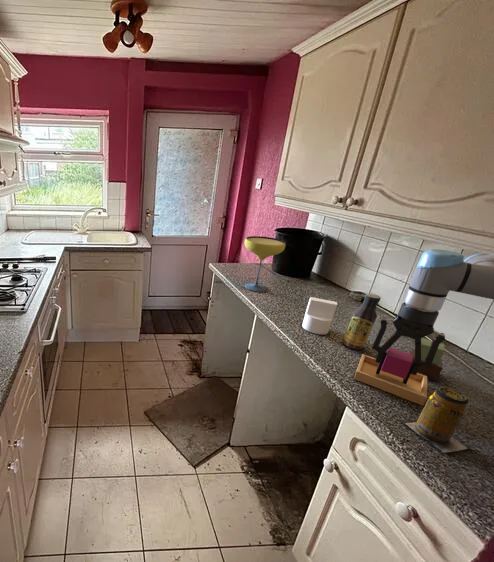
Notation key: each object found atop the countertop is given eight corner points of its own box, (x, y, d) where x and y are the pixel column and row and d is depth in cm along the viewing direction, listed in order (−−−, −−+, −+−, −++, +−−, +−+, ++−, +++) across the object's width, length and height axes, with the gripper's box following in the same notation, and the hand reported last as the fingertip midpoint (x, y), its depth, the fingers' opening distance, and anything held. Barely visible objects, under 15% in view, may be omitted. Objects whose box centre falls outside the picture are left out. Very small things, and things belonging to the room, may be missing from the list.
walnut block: (435, 371, 98) (441, 358, 97) (435, 381, 94) (442, 367, 92) (406, 361, 103) (412, 348, 101) (405, 371, 98) (411, 357, 96)
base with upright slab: (327, 326, 124) (335, 299, 119) (329, 336, 116) (339, 308, 112) (301, 320, 127) (309, 294, 123) (302, 330, 120) (310, 302, 116)
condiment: (427, 420, 79) (447, 382, 75) (468, 449, 71) (492, 408, 67) (404, 424, 78) (423, 385, 73) (443, 453, 70) (466, 412, 65)
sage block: (437, 358, 97) (444, 344, 95) (437, 364, 93) (444, 350, 91) (416, 351, 100) (422, 337, 98) (415, 357, 96) (422, 344, 94)
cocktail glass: (251, 279, 171) (260, 234, 162) (282, 290, 157) (293, 242, 148) (229, 285, 162) (237, 238, 153) (260, 297, 148) (270, 246, 139)
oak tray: (423, 383, 92) (427, 376, 91) (423, 405, 84) (427, 397, 83) (359, 361, 102) (362, 353, 101) (353, 378, 94) (356, 371, 93)
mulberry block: (406, 370, 92) (413, 354, 90) (405, 379, 88) (412, 363, 86) (382, 362, 95) (388, 347, 93) (380, 370, 91) (387, 354, 89)
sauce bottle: (339, 344, 111) (357, 294, 104) (345, 339, 115) (362, 289, 108) (361, 353, 107) (381, 300, 99) (366, 346, 111) (385, 295, 103)
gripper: (468, 313, 81) (433, 385, 89) (379, 292, 92) (355, 358, 101) (471, 323, 75) (433, 398, 84) (376, 300, 87) (351, 368, 96)
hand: (390, 376), depth 92 cm, fingers closed on mulberry block, 5 cm apart
